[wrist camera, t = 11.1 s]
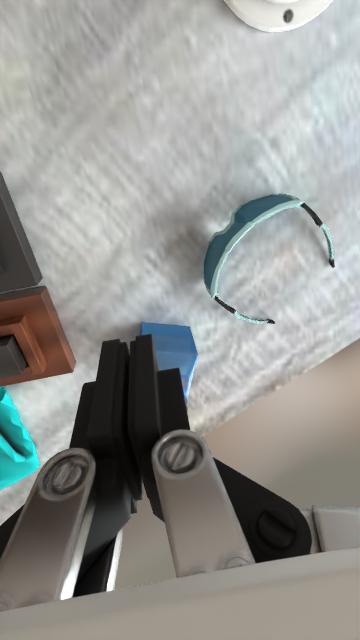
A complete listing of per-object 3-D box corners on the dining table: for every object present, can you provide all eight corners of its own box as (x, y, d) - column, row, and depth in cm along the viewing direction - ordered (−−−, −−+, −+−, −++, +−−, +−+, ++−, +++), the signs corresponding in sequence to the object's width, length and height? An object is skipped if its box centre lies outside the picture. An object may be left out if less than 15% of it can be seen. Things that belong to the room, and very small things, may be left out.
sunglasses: (266, 164, 33) (290, 173, 29) (335, 247, 41) (362, 263, 37) (177, 267, 37) (188, 288, 33) (255, 324, 45) (272, 347, 41)
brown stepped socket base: (-61, 305, 36) (-81, 323, 33) (46, 285, 36) (36, 300, 33) (-16, 380, 42) (-30, 401, 38) (76, 361, 42) (71, 381, 38)
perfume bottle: (141, 322, 40) (144, 385, 30) (189, 326, 41) (208, 388, 31) (136, 362, 43) (137, 432, 33) (181, 365, 44) (196, 433, 34)
